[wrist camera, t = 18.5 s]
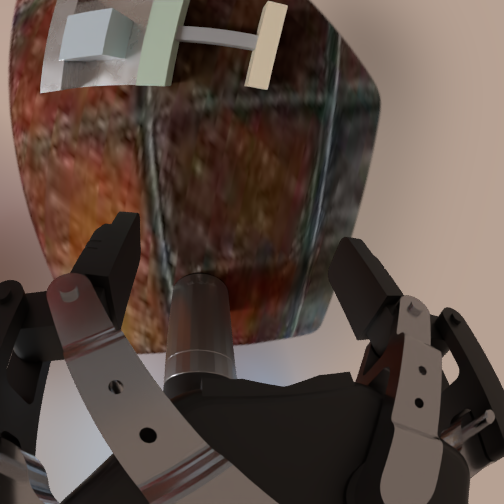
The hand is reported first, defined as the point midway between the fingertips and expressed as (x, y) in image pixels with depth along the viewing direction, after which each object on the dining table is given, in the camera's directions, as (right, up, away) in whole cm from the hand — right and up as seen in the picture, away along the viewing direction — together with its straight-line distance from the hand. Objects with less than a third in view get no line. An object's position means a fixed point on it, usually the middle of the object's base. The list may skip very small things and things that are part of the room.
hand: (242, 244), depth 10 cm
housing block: (-16, +24, +10) cm, 30 cm away
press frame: (-14, +24, +10) cm, 30 cm away
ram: (-4, +22, +12) cm, 26 cm away
